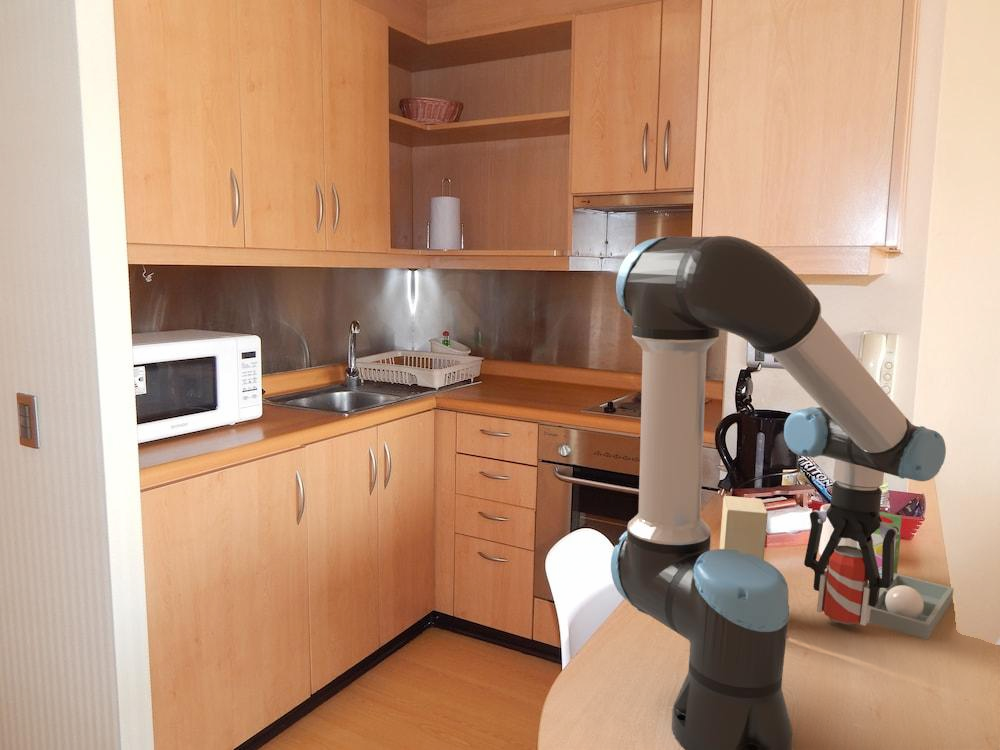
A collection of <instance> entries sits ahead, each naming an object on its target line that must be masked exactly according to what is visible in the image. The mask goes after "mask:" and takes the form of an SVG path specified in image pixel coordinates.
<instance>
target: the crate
mask: <svg viewBox="0 0 1000 750" xmlns="http://www.w3.org/2000/svg"><path fill="white" fill-rule="evenodd" d="M899 585H905V586H909V587H912V588H913V589H915V590H916V591H917V592H918V593H919V594H920V595H921V597H922V599H923V602H924V609H923V612H922V614H921V615H920V616H919V617H918V618H917V619H912V618H909V617H905V616H902V615H898V614H895V613H891V612H888V610H887V608H886V605H885V597H886V594H887V592H888V591H889V590H890V589H891V588H893V587H895V586H899ZM954 590H955V589H954V587H951V586H947V585H944V584H939V583H936V582H932V581H927V580H923V579H920V578H916V577H911V576H908V575H904V574H899V573H897V574H896V573H894V578H893V583H892V585H891V586H890V587H889V588H880V591H879V600H878V603H877V605H876V606H875V607H872V606H871V611H870V619H869V622H868V623H869V624H873V625H877V626H879V627H884V628H887V629H889V630H893V631H897V632H899V633H904V634H907V635H910V636H914V637H916V638H917V637H918V638H921V639H924V640H929V638H930V637H931V636H932V634H933V632H934V630H935V629H936V627H937V626H938V624H939V623H940V621H941V619H942V618H943V616H944V615H945V613H946V611H947V609H948V608H949V606H951V604H952V602H953V597H954V596H953V595H954Z"/></svg>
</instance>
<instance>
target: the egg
mask: <svg viewBox="0 0 1000 750" xmlns="http://www.w3.org/2000/svg"><path fill="white" fill-rule="evenodd" d="M885 605H886V608H887V610H888V612H891V613H895V614H898V615H902V616H905V617H909V618H912V619H917V618H918V617H919V616H920V615H921V614H922V612H923V609H924V602H923V599H922V597H921V595H920V594H919V593H918V592H917V591H916V590H915V589H913V588H912V587H909V586H905V585H899V586H895V587H893V588H891V589H890V590H889V591H888V592H887V594H886V597H885Z"/></svg>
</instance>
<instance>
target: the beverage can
mask: <svg viewBox="0 0 1000 750" xmlns="http://www.w3.org/2000/svg"><path fill="white" fill-rule="evenodd" d="M826 569H827V570H826V571H827V577H826V586H825V595H824V605H823V613H824V615H825V616H827V617H828V619H829V620H832V621H833V622H835V623H838V624H842V625H855V624H857V623H859V624H860V620H861V611H862V602H863V594H864V587H865V586H866V585H867V584H868V583H869V581H868V577H867V573H866V568H865V564H864V560H863V555H862V551H861V549H859V548H856V547H851V546H836V547H835V548H834V550H833V552H832V554H831V555H830V557H829V560H828V565H827V568H826Z"/></svg>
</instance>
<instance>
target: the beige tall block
mask: <svg viewBox="0 0 1000 750" xmlns="http://www.w3.org/2000/svg"><path fill="white" fill-rule="evenodd" d="M767 510H768V509H767V508H766V506H765V504H764V501H763V499H762V498H757V497H756V498H755V497H744V496H743V497H742V496H730V495H724V496H723V498H722V511H721V513H722V514H721V521H720V522H721V523H720V524H721V525H720V536H719V537H720V538H719V548H718V549H729V550H736V551H738V552H739V553H742V554H745V553H748V554H751V555H754V556H757V557H759V558H761V559H763V560H765V548H766V539H767V538H766V537H767V527H768V526H767V525H768V511H767Z"/></svg>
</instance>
